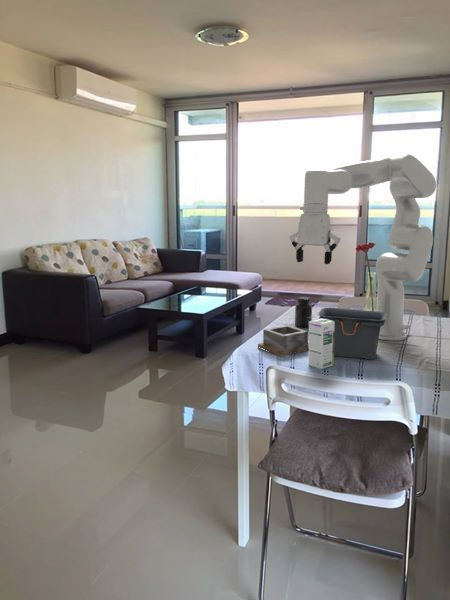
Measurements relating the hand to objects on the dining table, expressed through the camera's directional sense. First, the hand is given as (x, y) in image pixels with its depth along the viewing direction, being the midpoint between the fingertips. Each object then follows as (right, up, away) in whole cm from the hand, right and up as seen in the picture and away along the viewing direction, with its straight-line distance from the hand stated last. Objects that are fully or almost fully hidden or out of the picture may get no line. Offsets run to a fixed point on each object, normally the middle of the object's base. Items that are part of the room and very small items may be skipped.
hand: (313, 262), depth 162 cm
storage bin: (+13, -31, +4) cm, 34 cm away
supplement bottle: (+3, -23, +42) cm, 48 cm away
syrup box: (+1, -33, -6) cm, 33 cm away
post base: (-8, -29, +12) cm, 32 cm away
